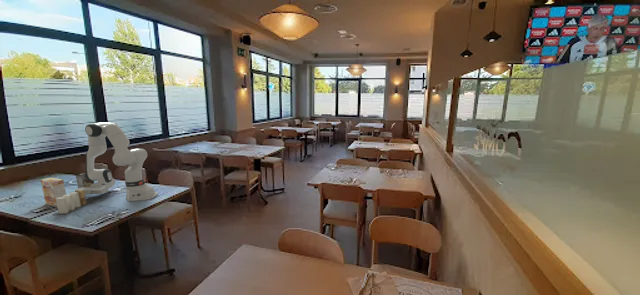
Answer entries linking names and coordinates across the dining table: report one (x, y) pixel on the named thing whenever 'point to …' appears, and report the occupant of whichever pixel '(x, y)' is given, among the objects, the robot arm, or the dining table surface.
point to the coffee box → (83, 181)
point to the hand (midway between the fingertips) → (82, 194)
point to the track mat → (88, 201)
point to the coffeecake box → (53, 190)
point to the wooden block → (81, 196)
